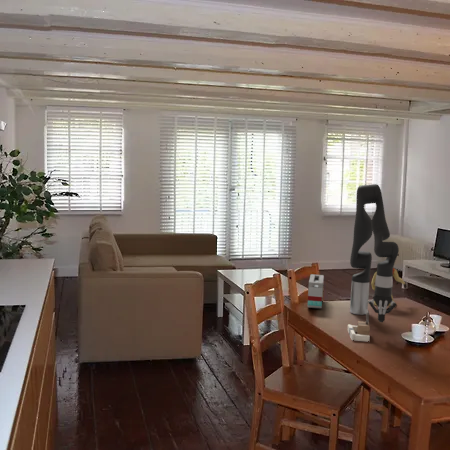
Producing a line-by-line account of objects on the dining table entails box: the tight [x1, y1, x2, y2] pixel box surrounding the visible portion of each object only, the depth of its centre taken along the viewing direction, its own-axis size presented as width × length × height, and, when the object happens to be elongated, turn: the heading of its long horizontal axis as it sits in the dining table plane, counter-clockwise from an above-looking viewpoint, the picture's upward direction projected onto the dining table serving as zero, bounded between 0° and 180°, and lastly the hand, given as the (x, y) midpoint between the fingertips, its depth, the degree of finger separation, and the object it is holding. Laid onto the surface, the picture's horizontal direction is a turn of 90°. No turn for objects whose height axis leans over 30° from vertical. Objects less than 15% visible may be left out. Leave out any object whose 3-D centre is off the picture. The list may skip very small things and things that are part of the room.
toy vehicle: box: [306, 273, 325, 309], centre depth 306 cm, size 8×30×15 cm, turn 169°
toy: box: [370, 253, 407, 307], centre depth 308 cm, size 23×9×30 cm, turn 100°
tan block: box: [356, 310, 371, 336], centre depth 249 cm, size 7×5×12 cm
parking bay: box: [347, 324, 371, 342], centre depth 250 cm, size 15×8×3 cm, turn 174°
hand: (380, 321), depth 248 cm, fingers closed
